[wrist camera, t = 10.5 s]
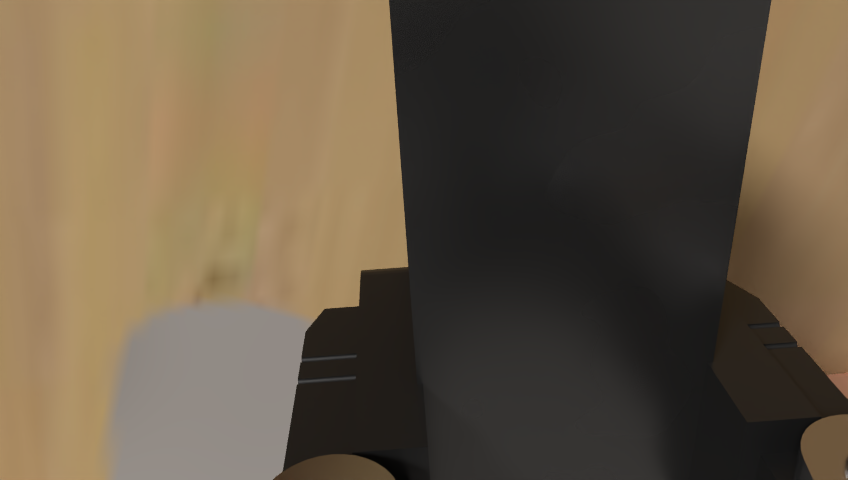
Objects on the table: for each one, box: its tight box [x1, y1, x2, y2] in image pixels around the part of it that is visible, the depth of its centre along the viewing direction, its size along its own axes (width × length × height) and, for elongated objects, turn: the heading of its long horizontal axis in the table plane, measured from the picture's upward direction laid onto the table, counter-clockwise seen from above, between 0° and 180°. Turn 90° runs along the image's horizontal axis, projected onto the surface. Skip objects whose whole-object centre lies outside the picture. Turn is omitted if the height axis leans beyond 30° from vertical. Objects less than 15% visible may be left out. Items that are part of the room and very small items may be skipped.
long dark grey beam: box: [389, 0, 771, 480], centre depth 10 cm, size 6×13×4 cm, turn 3°
